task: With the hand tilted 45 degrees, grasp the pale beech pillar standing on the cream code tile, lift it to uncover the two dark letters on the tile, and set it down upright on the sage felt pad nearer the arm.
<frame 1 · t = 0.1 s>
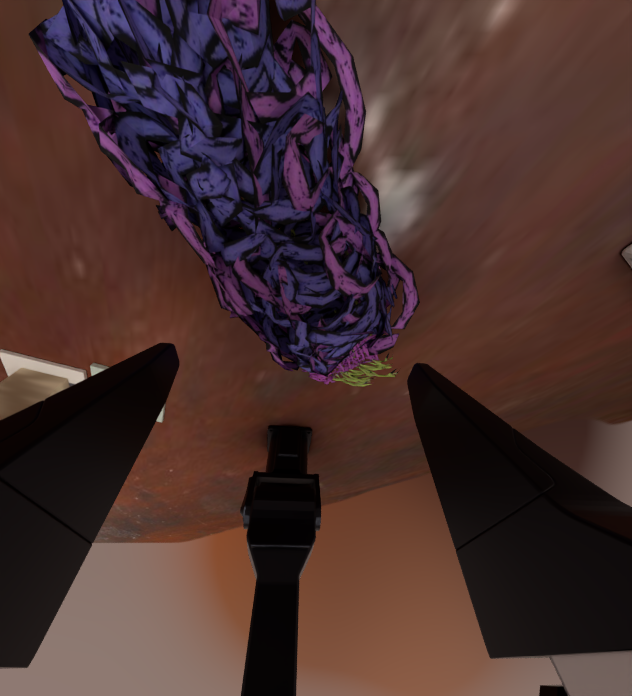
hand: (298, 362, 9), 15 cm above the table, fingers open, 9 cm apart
code tile: (51, 383, 30), on the table
decorative ornament: (308, 239, 21), on the table
pillar: (48, 385, 30), resting on code tile
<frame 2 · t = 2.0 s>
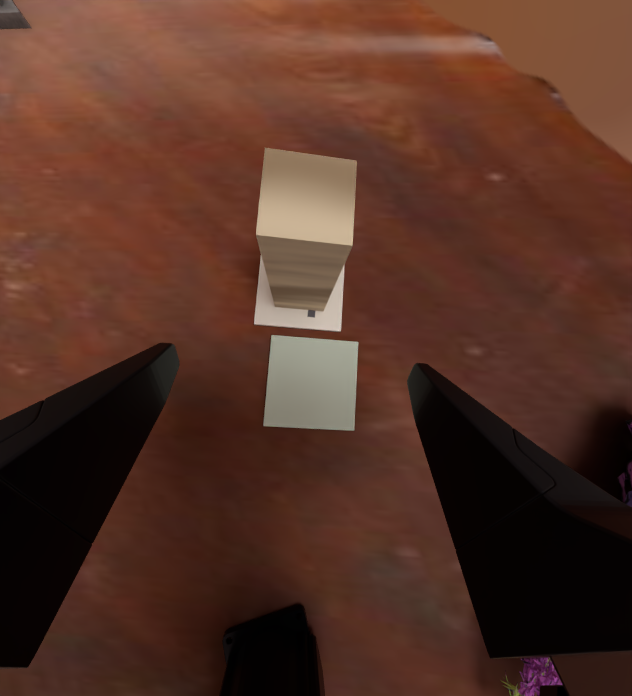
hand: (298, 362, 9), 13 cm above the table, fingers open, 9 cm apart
code tile: (301, 287, 23), on the table
felt pad: (312, 382, 22), on the table
decorative ornament: (577, 542, 23), on the table
pillar: (301, 286, 23), resting on code tile
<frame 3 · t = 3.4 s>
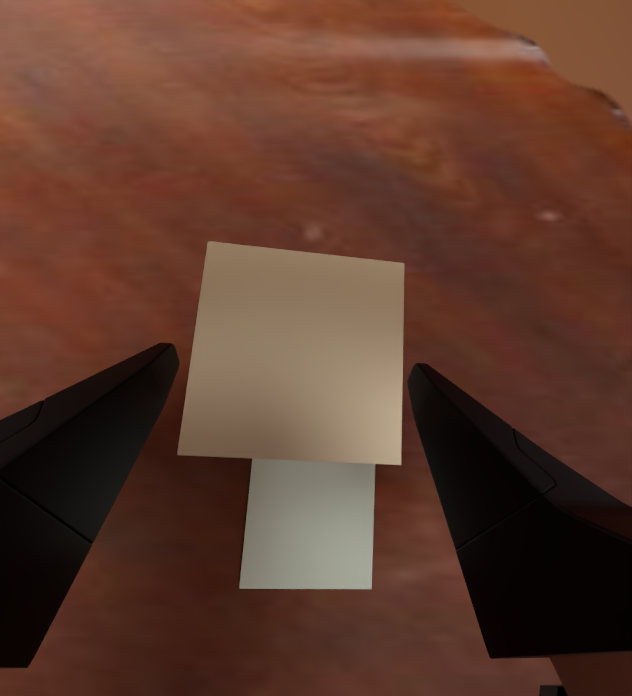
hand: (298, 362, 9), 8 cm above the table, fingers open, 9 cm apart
felt pad: (310, 512, 16), on the table
pillar: (296, 372, 17), resting on code tile
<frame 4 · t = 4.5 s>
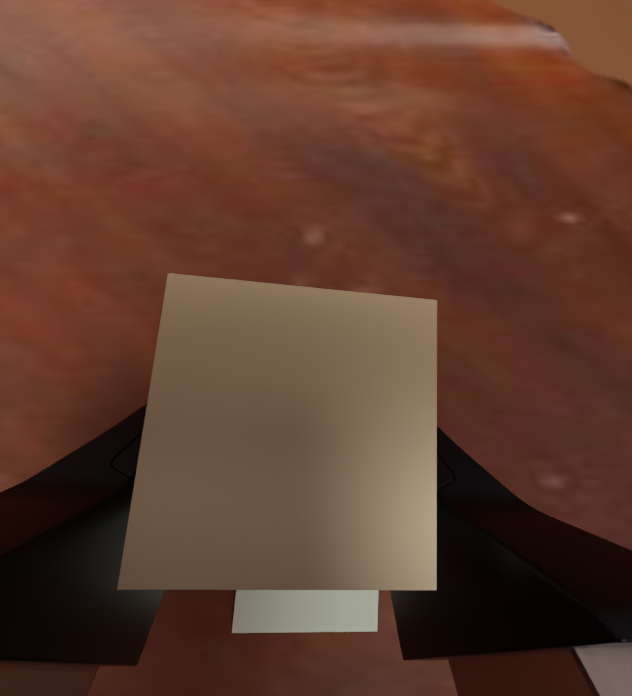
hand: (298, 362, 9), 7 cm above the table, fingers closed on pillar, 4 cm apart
felt pad: (310, 545, 14), on the table
pillar: (294, 391, 15), resting on code tile, touching gripper
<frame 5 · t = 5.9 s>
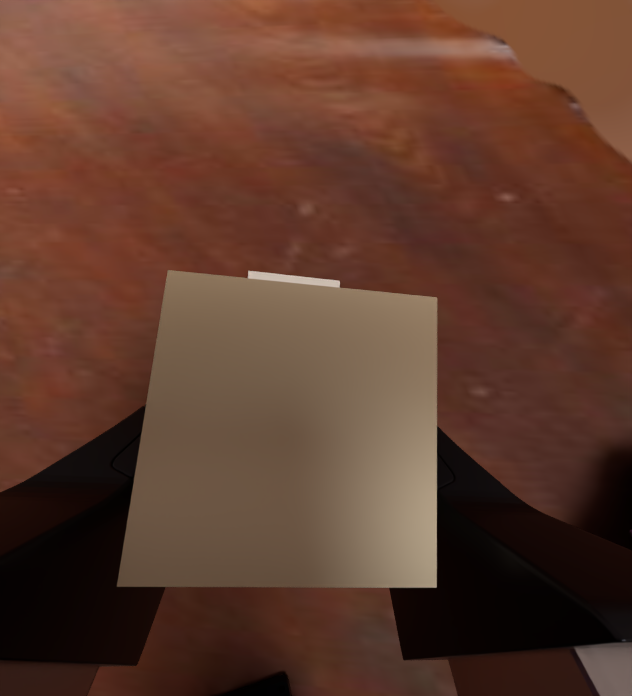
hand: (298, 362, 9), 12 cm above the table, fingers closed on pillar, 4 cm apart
code tile: (290, 321, 21), on the table
pillar: (294, 391, 15), point 6 cm above the table, touching gripper
when the fingers open (7 cm above the table, at t = 7.4 s): pillar stays where it is, resting on felt pad.
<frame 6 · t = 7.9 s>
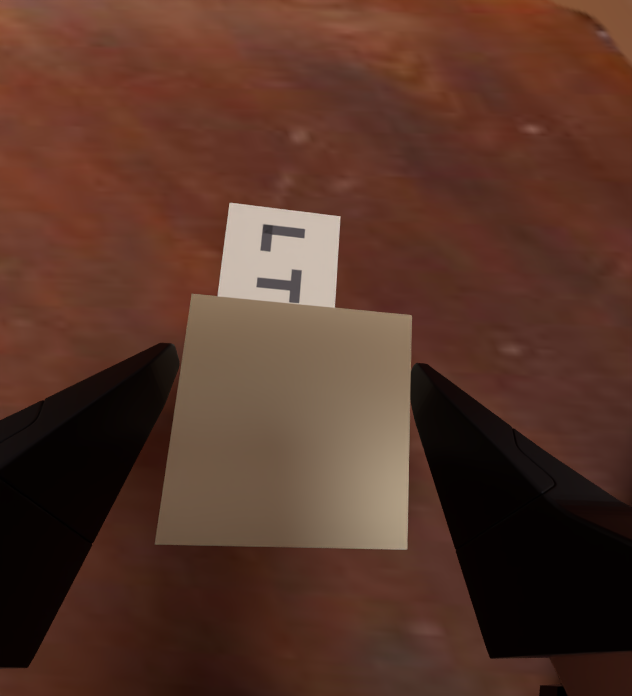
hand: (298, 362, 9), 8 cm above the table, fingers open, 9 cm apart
code tile: (281, 264, 18), on the table
pillar: (294, 391, 16), resting on felt pad
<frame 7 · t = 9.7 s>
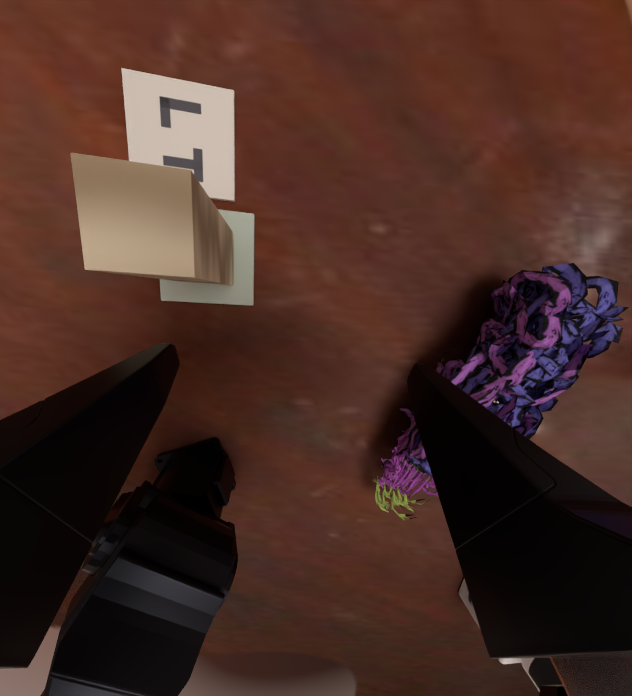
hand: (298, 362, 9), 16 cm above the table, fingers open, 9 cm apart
code tile: (184, 142, 20), on the table
felt pad: (208, 258, 22), on the table
container: (484, 571, 38), on the table
decorative ornament: (444, 391, 30), on the table
pillar: (207, 257, 22), resting on felt pad
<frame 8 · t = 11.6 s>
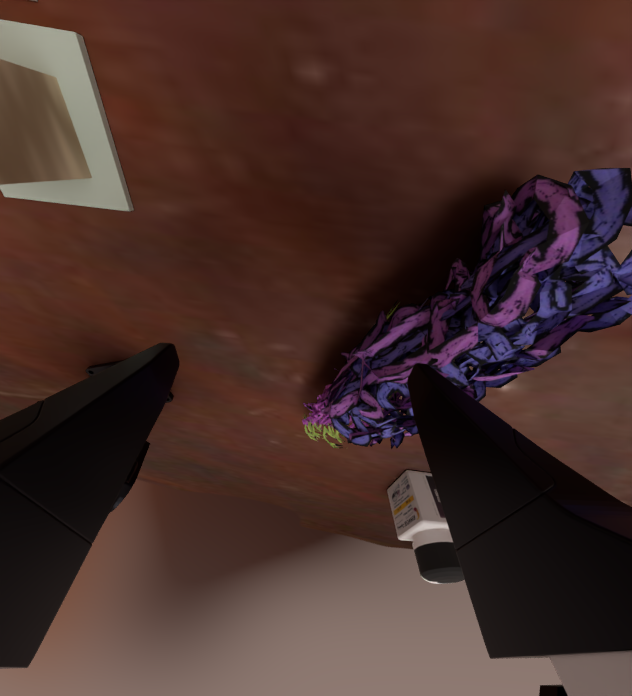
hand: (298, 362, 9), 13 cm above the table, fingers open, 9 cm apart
felt pad: (42, 127, 15), on the table
container: (414, 480, 44), on the table
decorative ornament: (399, 337, 25), on the table
pillar: (34, 126, 14), resting on felt pad
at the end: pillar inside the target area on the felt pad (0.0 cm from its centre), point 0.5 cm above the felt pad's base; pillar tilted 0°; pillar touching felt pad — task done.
